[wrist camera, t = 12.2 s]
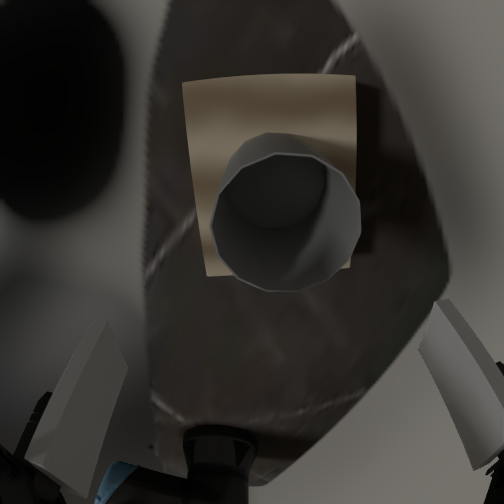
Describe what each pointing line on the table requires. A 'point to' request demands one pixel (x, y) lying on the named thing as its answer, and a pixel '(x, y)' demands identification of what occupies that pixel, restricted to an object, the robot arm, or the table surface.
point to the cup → (284, 215)
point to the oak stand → (264, 129)
